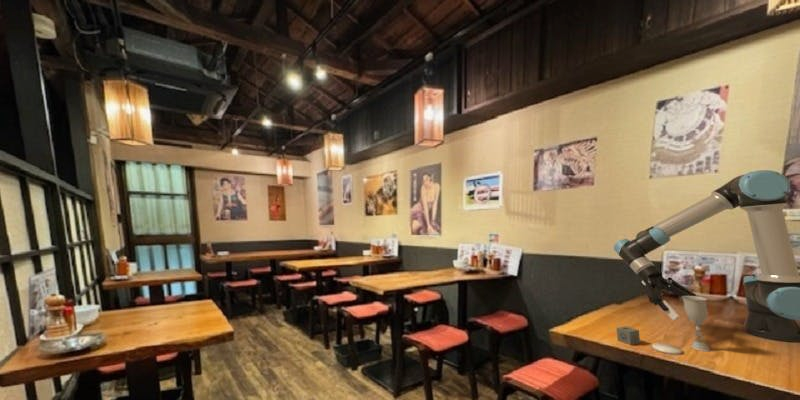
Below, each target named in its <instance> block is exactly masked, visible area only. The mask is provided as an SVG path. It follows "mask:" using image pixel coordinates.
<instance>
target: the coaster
mask: <svg viewBox="0 0 800 400" xmlns="http://www.w3.org/2000/svg"><path fill="white" fill-rule="evenodd" d="M651 348H652V349H653V350H654V351H656V352H659V353H662V354H666V355H673V356H674V355H675V356H677V355H682V353H683V351H682V349H681V347H680V346H679V347H678V346H676V345H672V344H669V343H663V342H662V343H661V342H654V343H652V344H651Z"/></svg>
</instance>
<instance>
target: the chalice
mask: <svg viewBox="0 0 800 400" xmlns="http://www.w3.org/2000/svg"><path fill="white" fill-rule="evenodd" d="M681 298H682V300H683V305H684V306H683V307H684V311H685V314H686V315H687V317H688V319H689V320H690V321H691V323H693V324H695V331H696V333H695V335H696V337H697V339H696V340H694V341H693V342H692V344H691V346H690V348H691V349H694V350H696V351H701V352H711V349H710V347H709V346H708V344H707V343H706V342H705V341H703V340H702V337H703V334H701V331H702V329H701V327H700V325H703V323H704V321H705V320H706V318H707V315H708V314H707V312H708V311H707V310H708V308H707V300H708V298H706V297H703V296H697V295H696V296H682V297H681Z"/></svg>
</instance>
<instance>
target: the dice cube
mask: <svg viewBox="0 0 800 400" xmlns="http://www.w3.org/2000/svg"><path fill="white" fill-rule="evenodd" d="M640 337H641V336H640V330H639V329H636V328H633V327H629V326H626V325H625V326H620V327H616V338H617V341H618V342H620V343H622V344H626V345H629V346H634V345H640V344H641V340H640Z"/></svg>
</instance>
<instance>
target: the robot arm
mask: <svg viewBox="0 0 800 400" xmlns="http://www.w3.org/2000/svg"><path fill="white" fill-rule="evenodd" d="M790 190H791V182H790V181H789V179H788V178H787V177H786V176H785V175H784V174H782V173H781V172H778V171H775V170H771V169H770V170H769V169H767V170H766V169H763V170H762V169H760V170H755V171H749V172H747V173H745V174H741V175H738V176H736V177H734V178H732V179H731V180H729V181H727V182H726V183H725V184H723V185H722V186H720V187H718V188H717V189H715V190H713V191H712V192H711V194H710V195H708V196H707V197H706V198H703V199H701V200H699V201H698V202H696V203H694V204H692V205H690V206H688V207H686V208H684V209H683V210H680V211H679V212H677V213H674V214H673V215H671V216H669V217H667V218H665V219H663V220H661V221H659V222H658V223H656V224H654V225H652V226H651V227H648V228H647V229H643V230H641V231H639V232H638V233H637V234H636V235H635V238H634V239H632V240H629V239H628V238H623V239H619V240H618V241H616V243H615V244H614V246H613V251H615V252H616V254H617V255H618V256H619V258H621V260H623V261H624V262H625V264H626V265H627V266H628V267H630V269H632V270H633V272H634V274H636V275H637V276H638V278H640V280H641V282H640V284H641V285H642V287H643V289H644V292H645V293H646V296H647V298H648V301H649V303H651V304H653V305H654V306H658V307H659V308H660V309H662V311H663V312H665V313H666V315H668V316H669V318H670V319H671V320H672V321H675V320H677V319H678V318H680V315H679V314H678V313H677V311H675V309H673V307H672V306H671V305H670V304H669V303H668V302H667V301H666V300H663V298H662V296H663V295H662V291H666V292H669V293H670V292H671V293H672V294H674V295H676V296H678V297H680V298H682V296H697V295H696V294H695V293H694V292H693V291H691V290H690V289H688V288H686V287H684V286H683V285H681V284H680V283H678V282H677V281H676V280H674V279H673V278H672V277H671V276H670V277H668V278H665V277H663V272H662V271H661V270H660V269H659V268H658V267H657V266H656V265H654V263H653V262H652V261H651V260H650V259H649V258H647V256H646V255H647V254H649V253H651V252H653V251H655V250H656V249H659V248H661V247H662V246H665V245H666V244H667V243H668V242H670V241H671V237H673V236H675V235H677V234H680V233H682V232H683V231H685V230H688V229H689V228H691V227H693V226H695V225H698V224H699V223H701V222H703V221H705V220H707V219H710V218H712V217H713V216H715V215H718V214H720V213H722V212H724V211H726V210H730V211H731V210H734V209H736V208H738V207H739V208H740V209H741V210H743V211H745V212H746V213H747V217H748V218H747V219H748V221H749V227H750V229H751V234H752V238H753V239H752V240H753V243H754V247H755V251H756V252H755V253H756V255H757V259H758V263H759V268H760V275H758V276H755V275H754V276H753V275H745V276H744V277H743V282H742V285H743V287H744V293H745V295H744V296H745V300H746V306H747V315H746V317H745V320H744V324H743V330H744V332H745V333H747V334H749V335H753V336H756V337H759V338H762V339H763V338H764V339H769V340H774V341H782V342H791V343H795V342H796V343H799V342H800V325H799V323H798V322H797V320H798V321H800V273H799V270H798V265H797V262H796V261H797V260H796V257H795V254H794V249H793V246H792V242H791V238H790V234H789V230H788V227H787V226H788V225H787V221H786V217H785V213H784V210H783V209H784V208H785V207H786V206H787V205H788V199H787V194H788V193H789V191H790ZM707 315H709V312H708V311H707Z"/></svg>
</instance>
